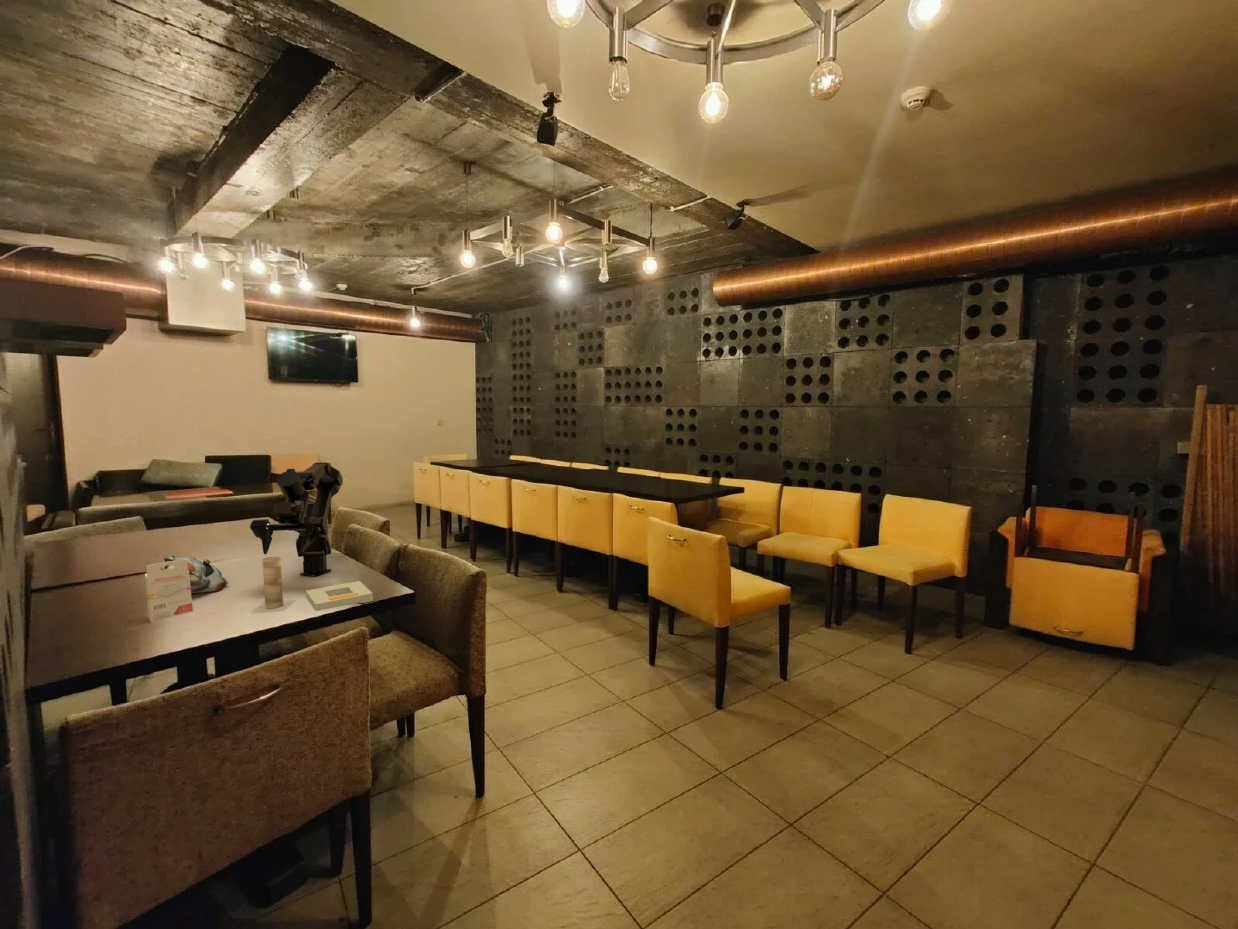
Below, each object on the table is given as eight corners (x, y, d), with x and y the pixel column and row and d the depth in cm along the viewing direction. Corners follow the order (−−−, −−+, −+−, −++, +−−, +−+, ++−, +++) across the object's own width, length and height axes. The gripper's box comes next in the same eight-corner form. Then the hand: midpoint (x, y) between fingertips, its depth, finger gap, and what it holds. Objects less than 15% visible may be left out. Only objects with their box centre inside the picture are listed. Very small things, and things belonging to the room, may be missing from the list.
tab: (264, 605, 147) (264, 602, 146) (296, 602, 148) (296, 600, 148) (251, 615, 139) (250, 612, 139) (285, 613, 141) (285, 610, 140)
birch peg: (274, 603, 146) (271, 556, 145) (286, 604, 145) (284, 557, 144) (261, 608, 142) (258, 560, 141) (274, 609, 141) (271, 561, 140)
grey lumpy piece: (236, 587, 161) (220, 553, 153) (193, 614, 152) (173, 579, 144) (208, 567, 167) (191, 533, 159) (165, 591, 158) (144, 557, 150)
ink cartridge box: (189, 609, 143) (185, 555, 142) (193, 614, 140) (189, 558, 138) (147, 618, 137) (142, 561, 136) (149, 623, 134) (145, 565, 132)
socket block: (306, 599, 151) (305, 589, 151) (359, 589, 160) (359, 580, 160) (316, 613, 140) (315, 603, 140) (373, 602, 149) (372, 592, 149)
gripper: (250, 491, 151) (234, 539, 142) (322, 490, 155) (311, 535, 146) (264, 514, 160) (249, 560, 150) (332, 511, 164) (322, 556, 154)
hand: (283, 552), depth 150 cm, fingers open, 9 cm apart
